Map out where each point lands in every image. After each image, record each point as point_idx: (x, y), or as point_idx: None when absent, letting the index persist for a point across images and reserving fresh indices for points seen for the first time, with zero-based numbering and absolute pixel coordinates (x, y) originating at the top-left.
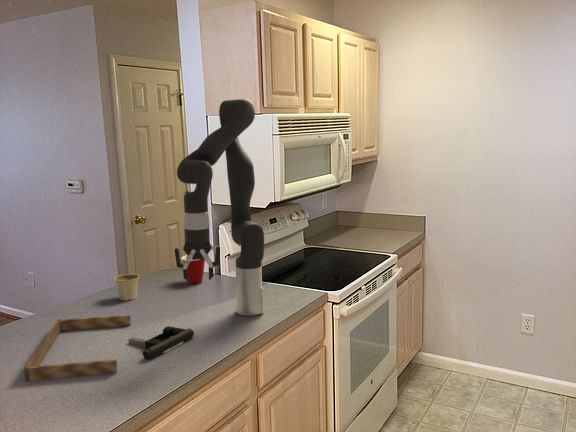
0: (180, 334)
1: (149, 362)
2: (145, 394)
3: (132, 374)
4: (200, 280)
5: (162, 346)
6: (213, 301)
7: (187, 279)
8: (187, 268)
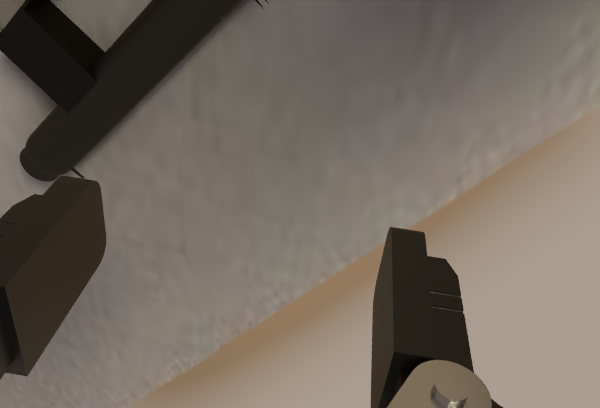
0: (187, 26)
1: None
2: (102, 369)
3: None
4: None
5: (101, 133)
6: None
7: (88, 267)
8: (9, 324)
